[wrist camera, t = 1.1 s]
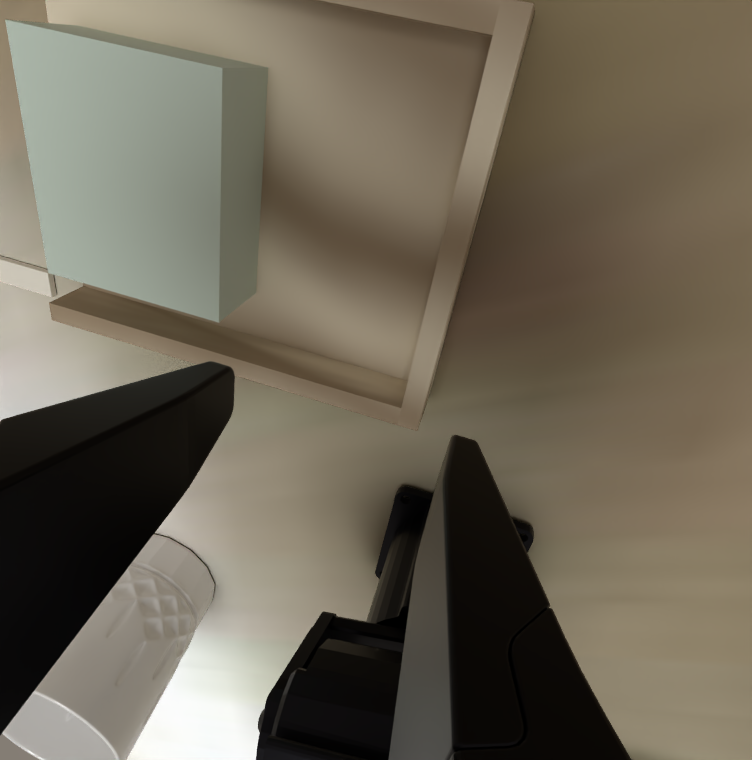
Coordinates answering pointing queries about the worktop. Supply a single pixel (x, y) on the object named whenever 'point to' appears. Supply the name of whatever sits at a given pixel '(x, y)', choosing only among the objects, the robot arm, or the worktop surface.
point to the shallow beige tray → (339, 186)
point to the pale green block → (143, 164)
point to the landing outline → (27, 277)
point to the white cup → (118, 660)
